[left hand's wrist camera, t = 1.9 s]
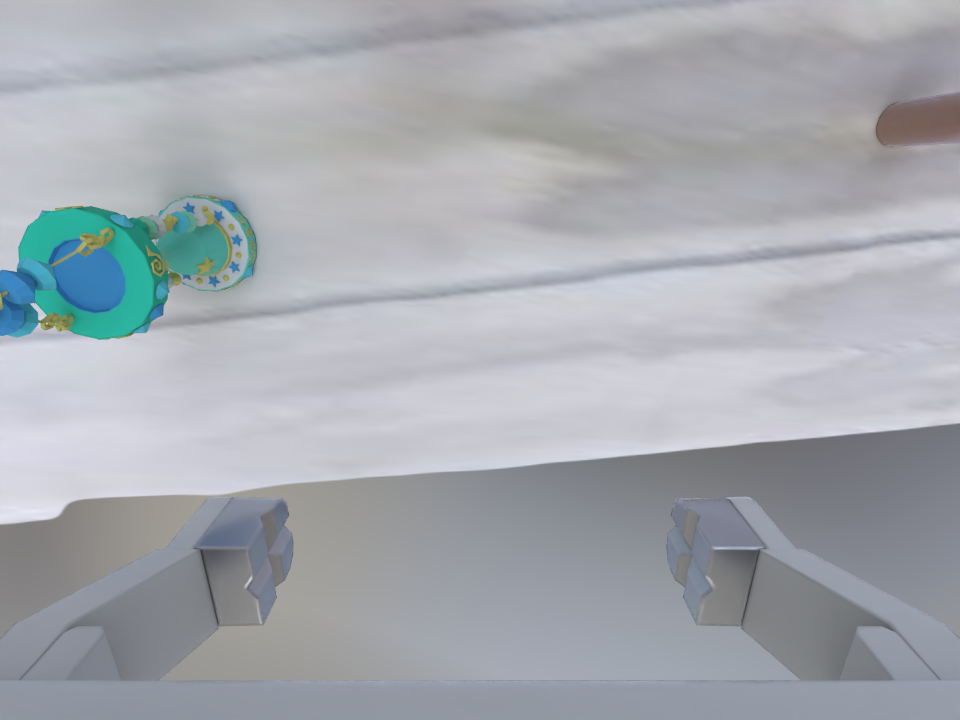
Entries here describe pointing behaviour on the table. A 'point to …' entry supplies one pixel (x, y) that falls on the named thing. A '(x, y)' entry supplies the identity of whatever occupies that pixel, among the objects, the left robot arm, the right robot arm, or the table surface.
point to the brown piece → (921, 121)
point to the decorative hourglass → (121, 266)
